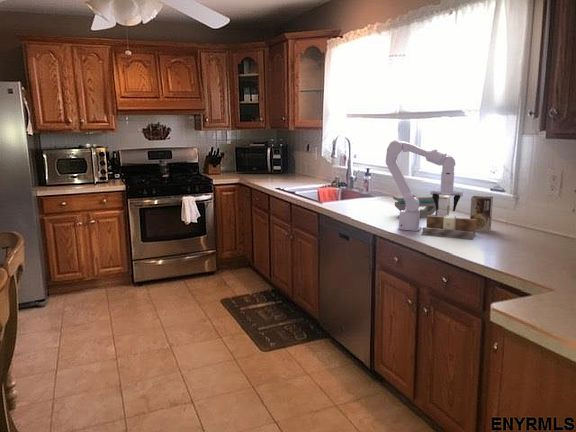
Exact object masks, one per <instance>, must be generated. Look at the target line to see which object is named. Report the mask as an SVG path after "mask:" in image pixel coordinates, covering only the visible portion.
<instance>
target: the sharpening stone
mask: <svg viewBox="0 0 576 432" xmlns="http://www.w3.org/2000/svg"><path fill="white" fill-rule="evenodd" d="M414 195H415V196H416V197H417V198H418V199H419V201H420V203H419V208H420V207H424V208H423V209H419V208H418V209H419V210H420V218H427V216H428V215H429V216H433V214H434V213H436V205H435V202H434V199H433V197H432V196H433V195H430V194H420V195H419V194H417V195H416V194H414ZM392 199H393V200H394V201H395V202H394V207H395V208H397V209H398V211H399V212H400V211H401V210H405V209H406V206H405V205H406V203H405V200H404V198H403V195H393V196H392Z"/></svg>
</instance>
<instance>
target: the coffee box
mask: <svg viewBox="0 0 576 432" xmlns="http://www.w3.org/2000/svg"><path fill="white" fill-rule="evenodd" d="M493 200H494V196H487V195H485V196H484V195H473V196H471V198H470V213H469V214H470V216H469V219H476V232H484V233H490V232H491V230H492V218H493V216H492V215H493V205H494V203H493V202H494V201H493Z"/></svg>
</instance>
